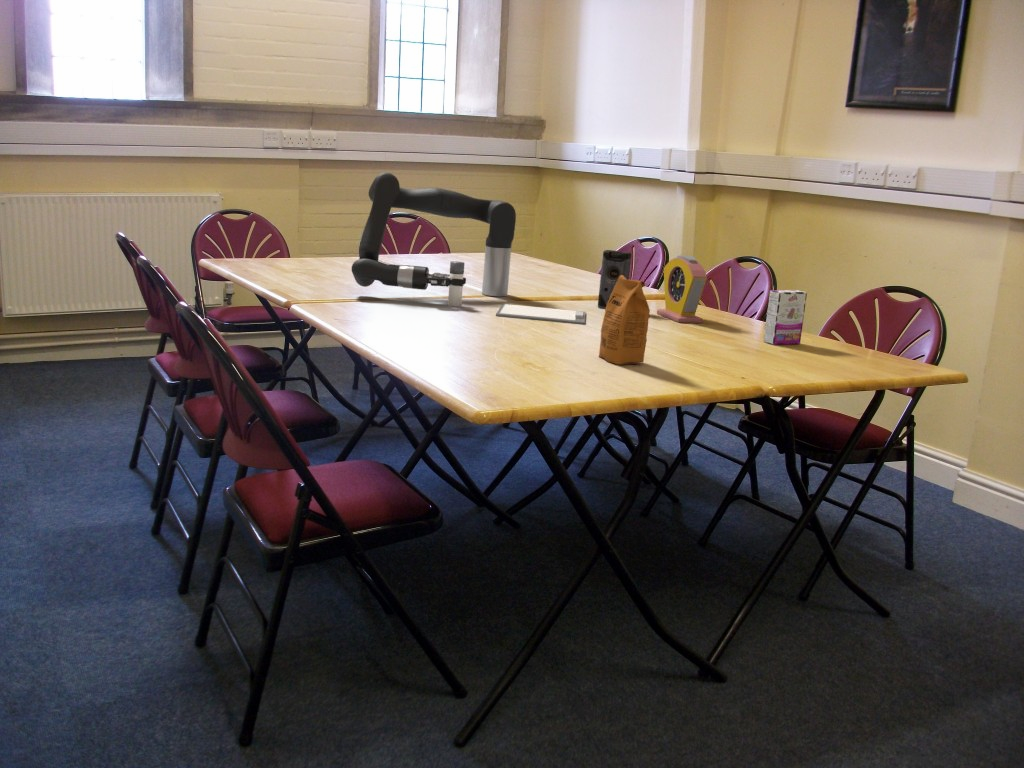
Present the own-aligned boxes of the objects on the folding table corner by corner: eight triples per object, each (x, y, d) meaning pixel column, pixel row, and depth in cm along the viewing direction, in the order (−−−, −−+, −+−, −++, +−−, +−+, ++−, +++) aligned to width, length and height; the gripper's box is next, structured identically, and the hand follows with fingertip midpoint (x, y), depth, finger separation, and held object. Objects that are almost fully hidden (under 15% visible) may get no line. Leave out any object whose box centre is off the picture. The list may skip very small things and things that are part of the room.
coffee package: (626, 355, 264) (635, 274, 259) (648, 366, 253) (658, 281, 248) (592, 355, 260) (601, 273, 255) (613, 366, 249) (623, 280, 244)
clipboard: (502, 305, 330) (502, 300, 329) (585, 313, 328) (585, 308, 328) (495, 315, 308) (496, 310, 308) (584, 324, 307) (585, 319, 306)
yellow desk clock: (652, 312, 342) (659, 250, 337) (676, 313, 345) (683, 252, 340) (682, 324, 322) (690, 259, 317) (707, 325, 325) (715, 260, 320)
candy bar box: (789, 341, 308) (796, 289, 304) (800, 344, 303) (808, 292, 299) (761, 341, 302) (769, 289, 299) (772, 345, 298) (780, 291, 294)
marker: (448, 303, 324) (451, 260, 321) (462, 304, 324) (465, 262, 321) (446, 305, 320) (449, 262, 317) (460, 307, 320) (463, 263, 316)
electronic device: (596, 307, 342) (602, 250, 337) (601, 305, 347) (607, 249, 343) (621, 311, 339) (628, 253, 334) (626, 309, 344) (632, 252, 339)
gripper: (409, 268, 313) (462, 273, 312) (417, 263, 327) (468, 268, 326) (408, 291, 315) (461, 296, 314) (416, 285, 329) (466, 290, 328)
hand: (464, 281), depth 320 cm, fingers closed on marker, 4 cm apart
